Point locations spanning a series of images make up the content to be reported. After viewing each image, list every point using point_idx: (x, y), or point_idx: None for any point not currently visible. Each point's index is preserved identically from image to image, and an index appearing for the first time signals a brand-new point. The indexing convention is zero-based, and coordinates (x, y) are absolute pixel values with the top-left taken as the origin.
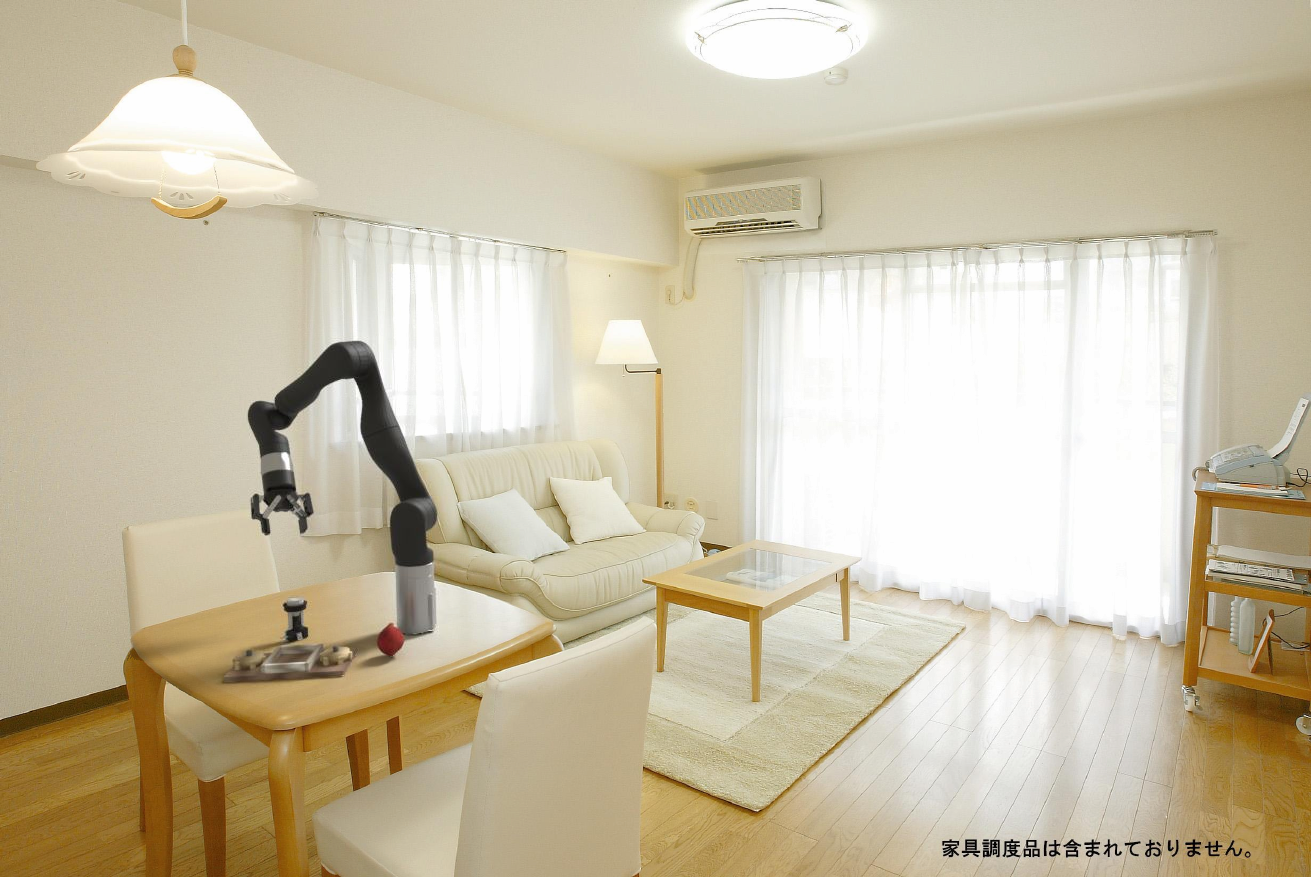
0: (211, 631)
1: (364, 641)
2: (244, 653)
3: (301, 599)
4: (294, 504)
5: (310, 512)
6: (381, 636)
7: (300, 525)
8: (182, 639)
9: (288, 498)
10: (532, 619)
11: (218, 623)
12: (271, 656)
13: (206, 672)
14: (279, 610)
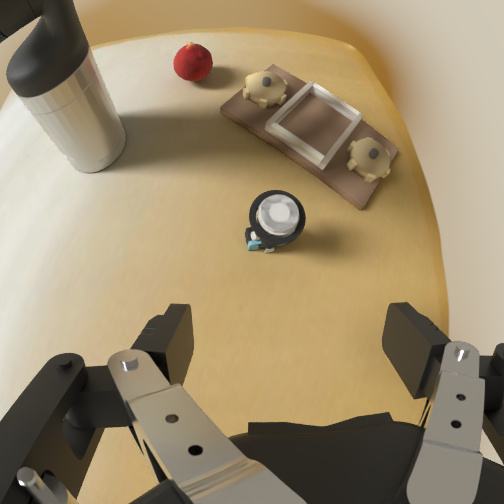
0: (364, 401)
1: (183, 147)
2: (376, 168)
3: (268, 197)
4: (197, 433)
5: (72, 362)
6: (208, 52)
7: (181, 356)
8: None
9: (283, 501)
10: (10, 97)
11: None
12: (346, 131)
13: (409, 202)
14: None
